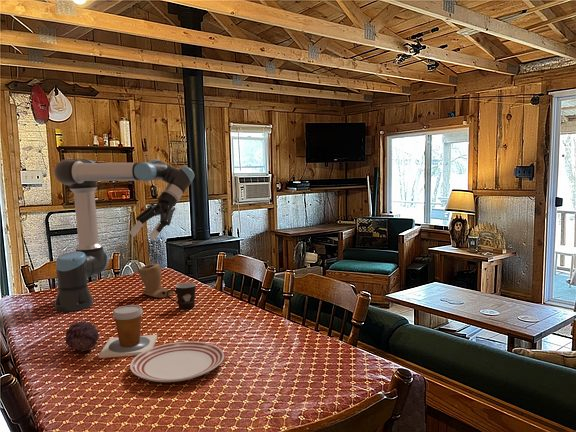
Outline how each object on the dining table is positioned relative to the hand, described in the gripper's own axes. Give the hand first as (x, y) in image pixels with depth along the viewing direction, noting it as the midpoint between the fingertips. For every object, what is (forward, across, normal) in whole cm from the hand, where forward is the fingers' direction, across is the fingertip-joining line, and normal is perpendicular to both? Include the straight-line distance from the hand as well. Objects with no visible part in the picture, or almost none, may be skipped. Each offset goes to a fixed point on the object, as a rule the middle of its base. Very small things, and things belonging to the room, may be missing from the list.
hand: (141, 236), depth 174 cm
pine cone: (+47, -14, +1) cm, 49 cm away
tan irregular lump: (+10, +19, -36) cm, 42 cm away
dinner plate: (+40, -50, -7) cm, 64 cm away
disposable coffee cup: (+39, -24, -6) cm, 46 cm away
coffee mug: (+13, -6, -33) cm, 36 cm away
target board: (+39, -24, -7) cm, 47 cm away
